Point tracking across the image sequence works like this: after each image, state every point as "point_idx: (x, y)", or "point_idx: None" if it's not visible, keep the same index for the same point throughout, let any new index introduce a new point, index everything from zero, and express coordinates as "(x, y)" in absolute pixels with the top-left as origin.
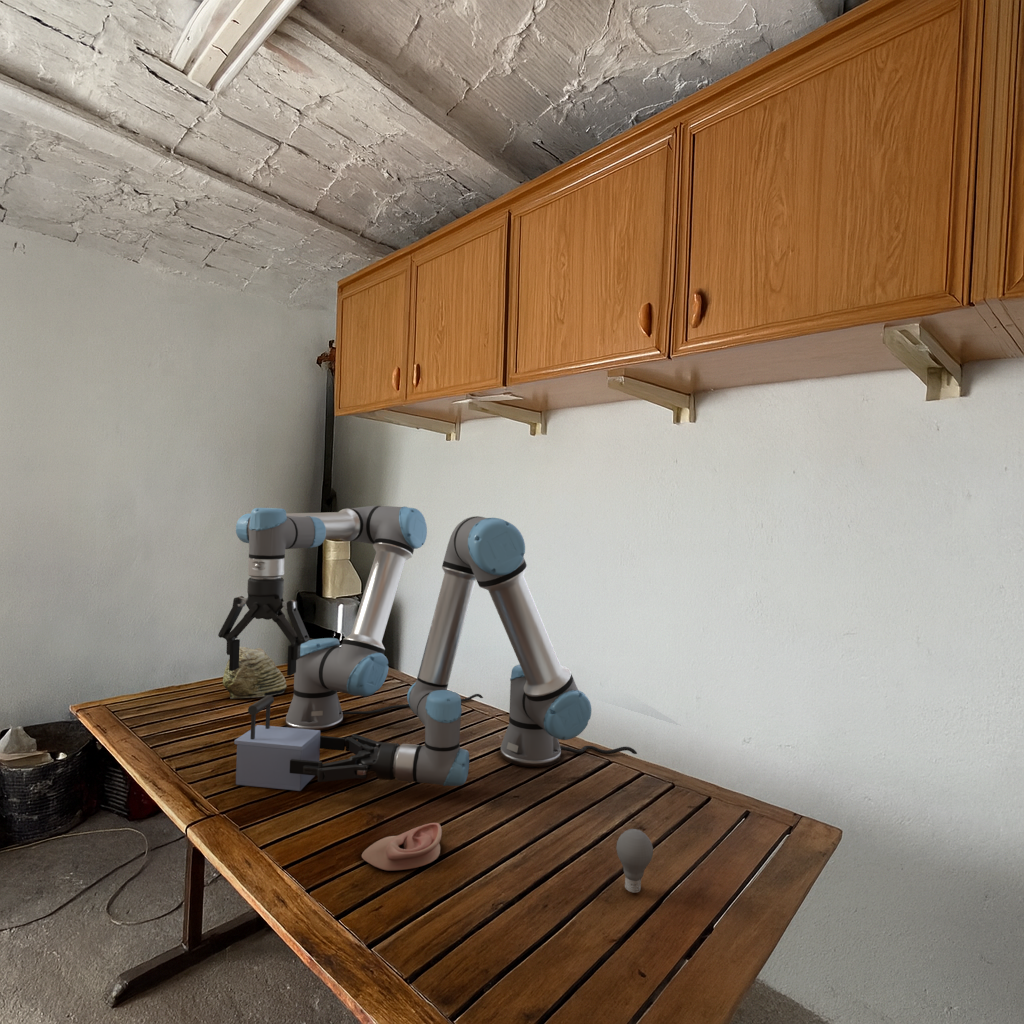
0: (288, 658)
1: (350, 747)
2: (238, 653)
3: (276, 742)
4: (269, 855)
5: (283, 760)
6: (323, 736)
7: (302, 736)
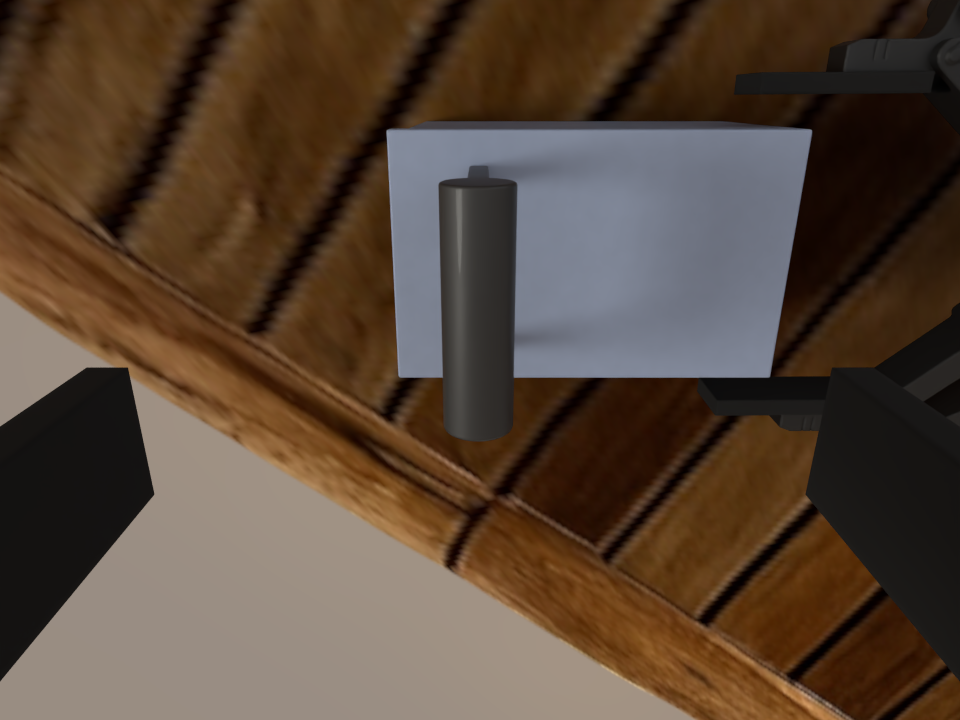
0: (936, 639)
1: (946, 104)
2: (12, 487)
3: (623, 360)
4: (737, 644)
5: None
6: (798, 81)
7: (732, 251)
